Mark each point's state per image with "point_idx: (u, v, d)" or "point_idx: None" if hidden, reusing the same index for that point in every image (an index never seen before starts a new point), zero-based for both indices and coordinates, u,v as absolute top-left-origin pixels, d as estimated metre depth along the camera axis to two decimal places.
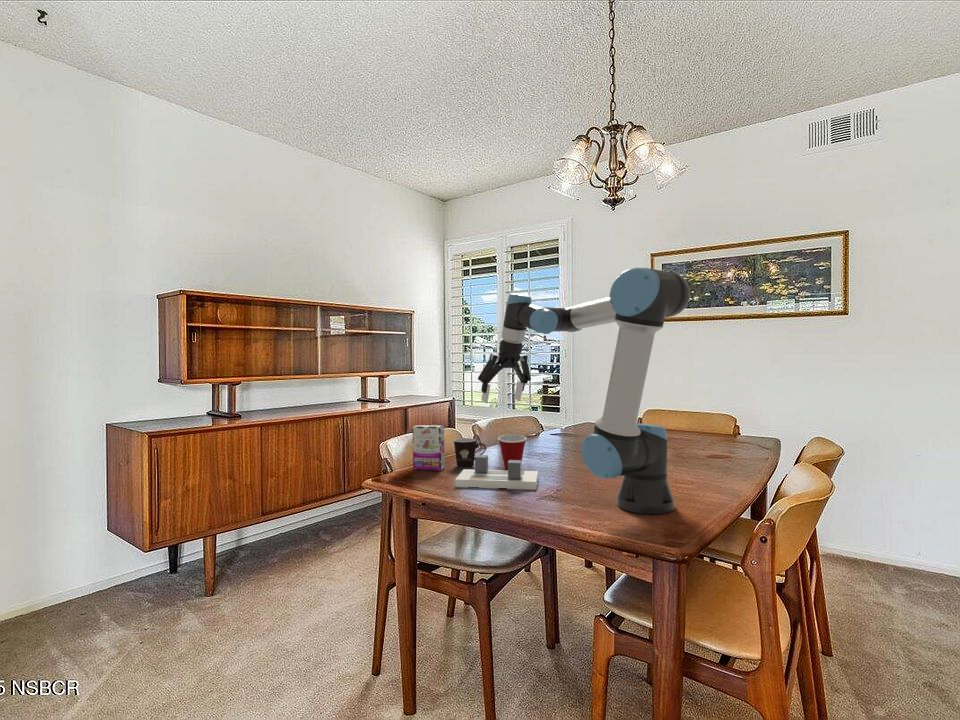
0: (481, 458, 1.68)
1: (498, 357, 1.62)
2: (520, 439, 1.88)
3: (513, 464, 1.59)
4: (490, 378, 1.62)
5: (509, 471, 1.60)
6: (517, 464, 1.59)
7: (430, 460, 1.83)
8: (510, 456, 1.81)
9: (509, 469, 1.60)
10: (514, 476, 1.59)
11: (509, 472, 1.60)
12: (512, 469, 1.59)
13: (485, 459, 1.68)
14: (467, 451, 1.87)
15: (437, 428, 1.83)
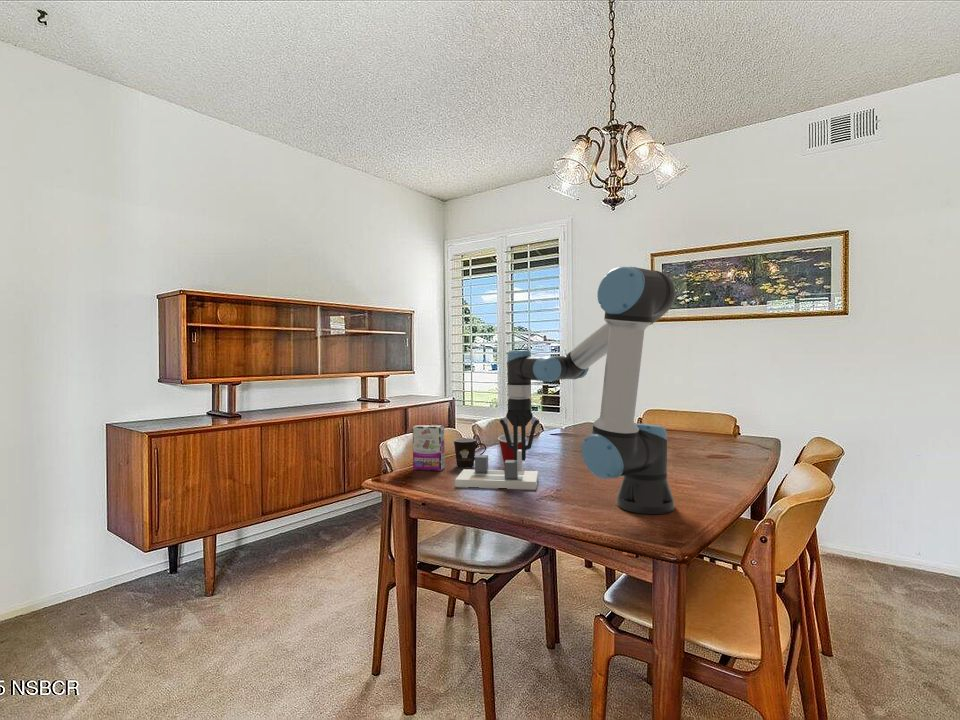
0: (481, 458, 1.68)
1: (506, 418, 1.61)
2: (520, 439, 1.88)
3: (510, 464, 1.59)
4: (514, 443, 1.60)
5: (506, 471, 1.60)
6: (514, 464, 1.59)
7: (430, 460, 1.83)
8: (510, 456, 1.81)
9: (506, 469, 1.60)
10: (511, 476, 1.60)
11: (506, 472, 1.60)
12: (509, 469, 1.60)
13: (485, 459, 1.68)
14: (467, 451, 1.87)
15: (437, 428, 1.83)
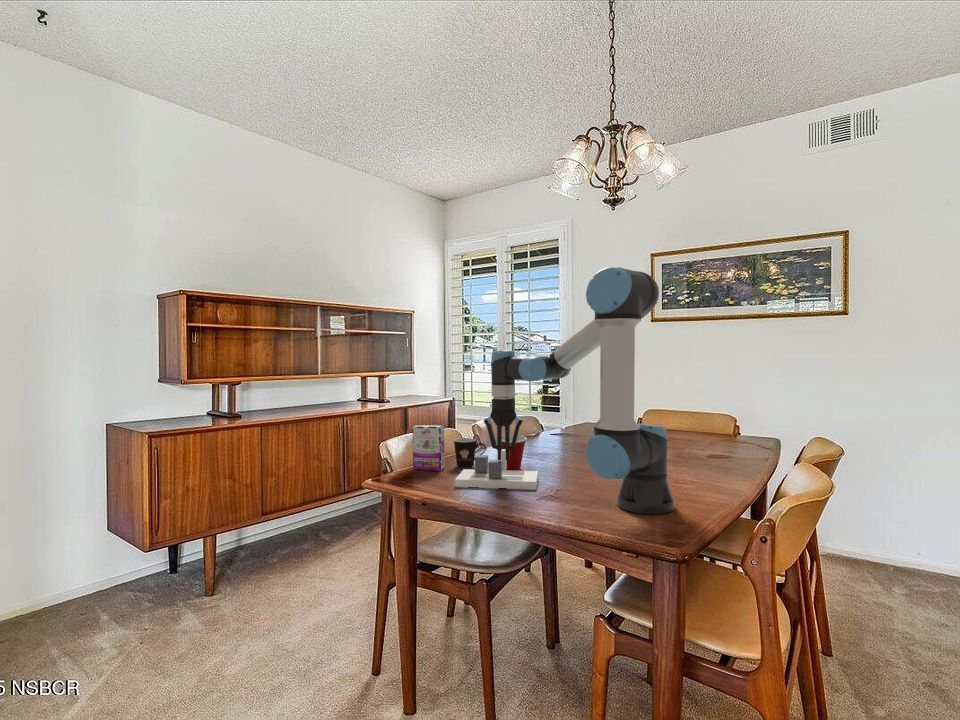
0: (481, 458, 1.68)
1: (490, 418, 1.62)
2: (520, 439, 1.88)
3: (494, 464, 1.60)
4: (498, 443, 1.61)
5: (490, 470, 1.61)
6: (498, 464, 1.60)
7: (430, 460, 1.83)
8: (510, 456, 1.81)
9: (490, 468, 1.61)
10: (495, 475, 1.60)
11: (490, 471, 1.61)
12: (493, 469, 1.60)
13: (485, 459, 1.68)
14: (467, 451, 1.87)
15: (437, 428, 1.83)
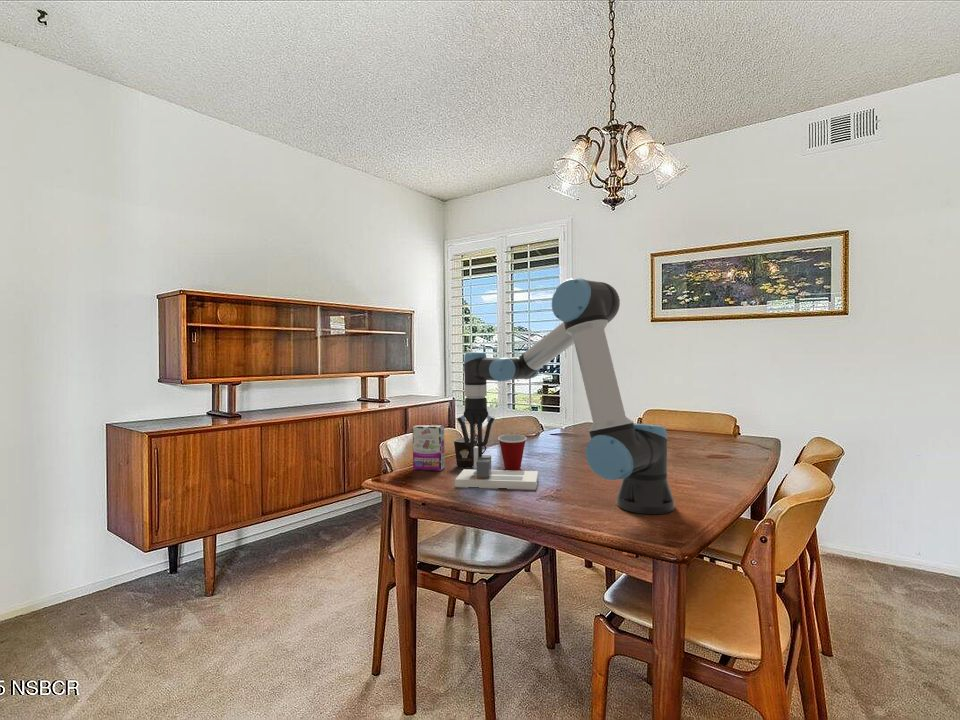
0: (484, 458, 1.68)
1: (463, 416, 1.70)
2: (520, 439, 1.88)
3: (482, 463, 1.61)
4: (471, 440, 1.69)
5: (478, 470, 1.61)
6: (486, 463, 1.61)
7: (430, 460, 1.83)
8: (510, 456, 1.81)
9: (478, 468, 1.61)
10: (483, 475, 1.61)
11: (478, 471, 1.61)
12: (481, 468, 1.61)
13: (488, 459, 1.68)
14: (467, 451, 1.87)
15: (437, 428, 1.83)
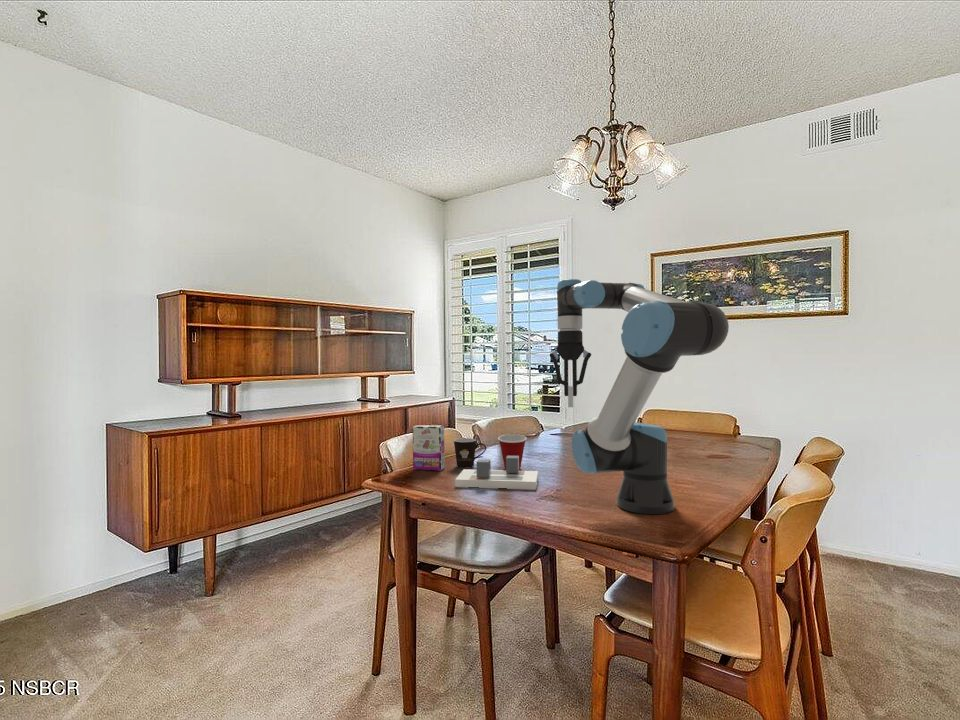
0: (512, 459, 1.66)
1: (556, 352, 1.54)
2: (520, 439, 1.88)
3: (482, 463, 1.61)
4: (565, 378, 1.52)
5: (478, 470, 1.61)
6: (486, 463, 1.61)
7: (430, 460, 1.83)
8: None
9: (478, 468, 1.61)
10: (483, 475, 1.61)
11: (478, 471, 1.61)
12: (481, 468, 1.61)
13: (516, 460, 1.66)
14: (467, 451, 1.87)
15: (437, 428, 1.83)
